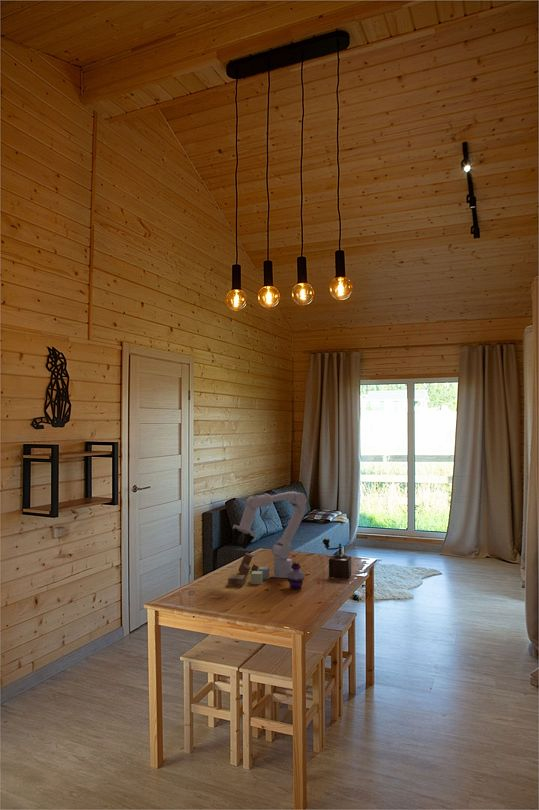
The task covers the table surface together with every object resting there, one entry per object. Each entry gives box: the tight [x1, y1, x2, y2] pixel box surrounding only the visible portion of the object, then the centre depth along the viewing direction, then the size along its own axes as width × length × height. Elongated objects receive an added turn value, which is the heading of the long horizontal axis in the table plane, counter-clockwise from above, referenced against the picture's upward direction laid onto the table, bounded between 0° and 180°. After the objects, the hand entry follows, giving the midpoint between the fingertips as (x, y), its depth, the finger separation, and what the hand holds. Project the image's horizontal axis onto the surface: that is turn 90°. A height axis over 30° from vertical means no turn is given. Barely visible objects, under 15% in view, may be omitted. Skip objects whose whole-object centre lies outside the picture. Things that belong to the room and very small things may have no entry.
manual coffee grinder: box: [322, 538, 352, 580], centre depth 280 cm, size 16×11×18 cm
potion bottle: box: [287, 561, 306, 590], centre depth 257 cm, size 9×9×12 cm
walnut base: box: [227, 574, 247, 588], centre depth 262 cm, size 7×7×4 cm
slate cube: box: [258, 566, 270, 580], centre depth 274 cm, size 5×5×5 cm
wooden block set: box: [237, 552, 259, 578], centre depth 281 cm, size 18×9×10 cm, turn 165°
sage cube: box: [250, 570, 264, 585], centre depth 266 cm, size 5×5×5 cm
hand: (238, 546), depth 269 cm, fingers open, 7 cm apart
